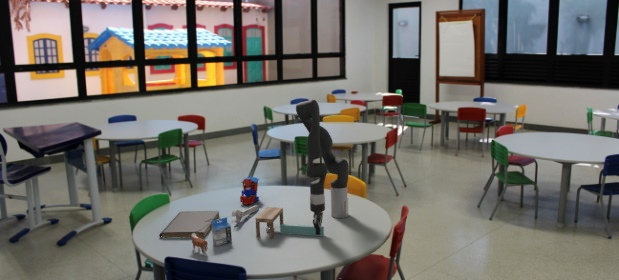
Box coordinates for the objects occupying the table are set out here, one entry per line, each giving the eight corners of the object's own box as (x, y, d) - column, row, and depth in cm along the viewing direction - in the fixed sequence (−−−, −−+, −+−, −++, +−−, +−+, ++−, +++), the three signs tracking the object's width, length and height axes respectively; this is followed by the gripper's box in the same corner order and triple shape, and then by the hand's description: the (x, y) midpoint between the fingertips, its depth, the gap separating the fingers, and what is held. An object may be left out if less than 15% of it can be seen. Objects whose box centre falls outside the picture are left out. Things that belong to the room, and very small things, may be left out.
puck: (275, 230, 282) (275, 227, 282) (273, 234, 278) (272, 230, 278) (267, 230, 284) (267, 226, 283) (265, 233, 279) (264, 229, 279)
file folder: (204, 231, 275) (158, 232, 276) (205, 238, 275) (159, 239, 277) (219, 210, 307) (178, 210, 309) (219, 216, 308) (179, 217, 309)
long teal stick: (323, 234, 274) (323, 226, 274) (323, 236, 273) (323, 227, 272) (281, 232, 280) (280, 223, 279) (280, 233, 279) (280, 225, 278)
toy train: (260, 198, 339) (259, 175, 336) (254, 206, 323) (253, 182, 320) (244, 198, 340) (243, 175, 337) (238, 206, 325) (236, 182, 322)
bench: (283, 226, 288) (282, 207, 286) (273, 238, 271) (272, 219, 269) (267, 225, 290) (266, 206, 288) (256, 237, 273) (255, 218, 271)
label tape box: (216, 246, 263) (214, 223, 261) (212, 244, 267) (211, 220, 264) (232, 242, 268) (230, 219, 266) (228, 239, 272) (226, 216, 269)
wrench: (258, 214, 318) (234, 225, 290) (255, 214, 318) (231, 225, 290) (258, 201, 317) (234, 211, 289) (255, 200, 318) (231, 211, 290)
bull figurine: (196, 246, 264) (194, 231, 263) (210, 254, 254) (209, 238, 253) (188, 249, 262) (187, 233, 260) (202, 257, 252) (200, 240, 250)
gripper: (313, 197, 278) (314, 228, 282) (307, 205, 265) (308, 238, 269) (327, 197, 276) (328, 229, 280) (321, 206, 263) (322, 239, 267)
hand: (318, 233), depth 274 cm, fingers closed
